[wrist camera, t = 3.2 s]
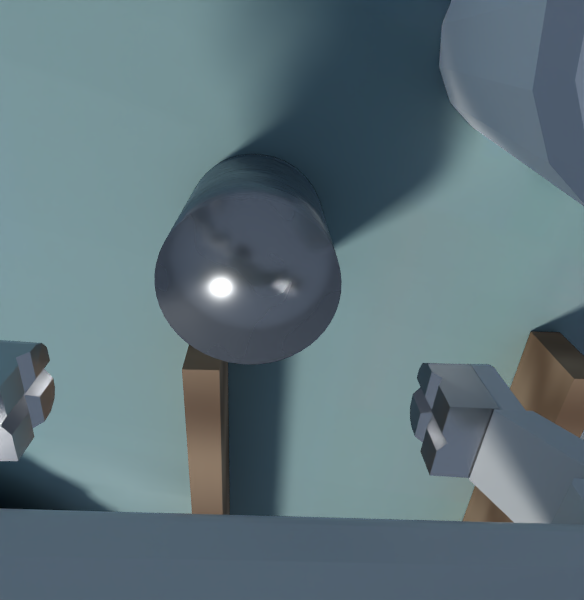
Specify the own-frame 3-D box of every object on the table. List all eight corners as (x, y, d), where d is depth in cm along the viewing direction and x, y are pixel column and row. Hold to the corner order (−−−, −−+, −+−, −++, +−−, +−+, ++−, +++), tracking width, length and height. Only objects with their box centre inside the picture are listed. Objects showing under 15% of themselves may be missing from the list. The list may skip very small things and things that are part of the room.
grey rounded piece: (184, 150, 15) (146, 193, 10) (328, 157, 15) (351, 203, 10) (191, 280, 17) (162, 362, 12) (316, 285, 17) (332, 366, 13)
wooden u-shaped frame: (195, 321, 17) (182, 369, 15) (559, 332, 18) (607, 379, 16) (208, 584, 26) (201, 645, 23) (460, 583, 26) (480, 642, 24)
